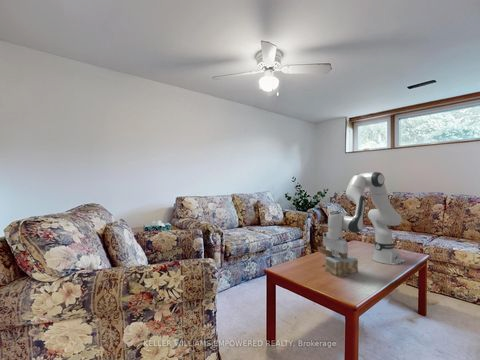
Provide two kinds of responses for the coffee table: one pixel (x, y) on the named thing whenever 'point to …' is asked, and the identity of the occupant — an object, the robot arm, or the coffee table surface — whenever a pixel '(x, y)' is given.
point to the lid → (342, 258)
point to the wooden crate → (341, 267)
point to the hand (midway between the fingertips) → (334, 256)
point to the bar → (325, 252)
